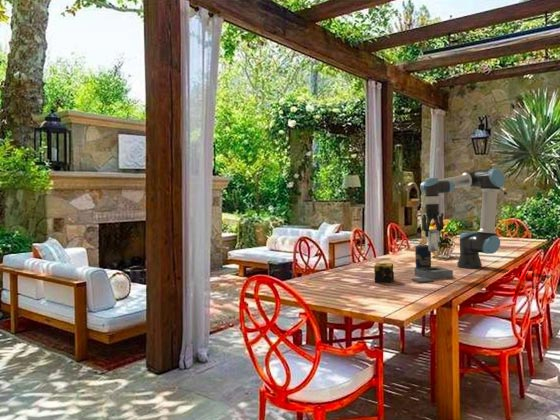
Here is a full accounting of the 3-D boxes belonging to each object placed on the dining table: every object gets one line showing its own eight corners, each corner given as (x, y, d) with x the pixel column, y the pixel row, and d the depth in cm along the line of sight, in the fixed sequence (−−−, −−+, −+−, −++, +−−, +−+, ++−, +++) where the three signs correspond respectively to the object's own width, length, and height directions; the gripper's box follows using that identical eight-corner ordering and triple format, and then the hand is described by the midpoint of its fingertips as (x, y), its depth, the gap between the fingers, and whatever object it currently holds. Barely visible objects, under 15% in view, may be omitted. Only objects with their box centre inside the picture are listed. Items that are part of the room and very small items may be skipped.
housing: (437, 273, 299) (437, 266, 298) (452, 277, 283) (452, 270, 283) (414, 275, 295) (414, 268, 295) (428, 279, 279) (428, 272, 279)
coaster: (425, 279, 282) (425, 277, 282) (433, 281, 273) (433, 280, 273) (411, 280, 280) (411, 278, 280) (419, 283, 271) (419, 281, 271)
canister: (432, 273, 298) (431, 245, 298) (416, 273, 300) (415, 245, 300) (430, 271, 308) (429, 243, 307) (415, 271, 310) (414, 243, 309)
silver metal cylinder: (434, 250, 292) (434, 228, 291) (440, 251, 286) (439, 229, 286) (426, 250, 291) (426, 229, 290) (431, 251, 285) (431, 229, 285)
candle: (394, 280, 283) (393, 263, 282) (392, 283, 273) (392, 265, 273) (376, 279, 286) (376, 262, 286) (374, 282, 276) (373, 265, 276)
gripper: (442, 202, 293) (443, 240, 294) (414, 204, 289) (415, 242, 290) (449, 203, 286) (450, 241, 287) (421, 204, 281) (422, 243, 282)
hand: (433, 241), depth 288 cm, fingers closed on silver metal cylinder, 6 cm apart
